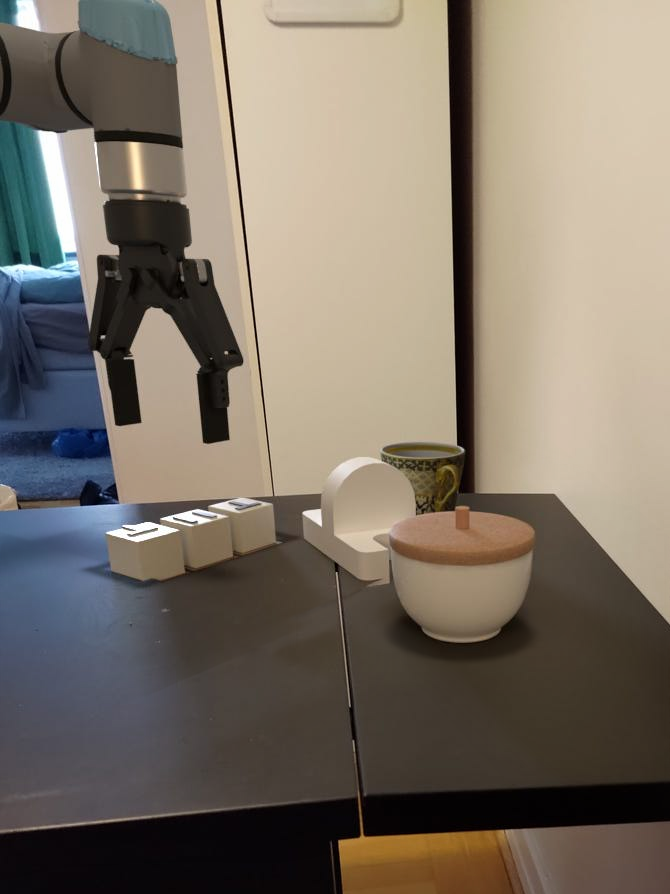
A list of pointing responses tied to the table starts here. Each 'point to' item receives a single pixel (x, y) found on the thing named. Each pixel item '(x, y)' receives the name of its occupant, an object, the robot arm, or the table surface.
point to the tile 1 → (146, 551)
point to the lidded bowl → (461, 571)
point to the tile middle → (202, 536)
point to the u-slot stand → (360, 516)
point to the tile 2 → (248, 523)
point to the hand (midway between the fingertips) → (170, 433)
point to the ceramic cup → (429, 472)
